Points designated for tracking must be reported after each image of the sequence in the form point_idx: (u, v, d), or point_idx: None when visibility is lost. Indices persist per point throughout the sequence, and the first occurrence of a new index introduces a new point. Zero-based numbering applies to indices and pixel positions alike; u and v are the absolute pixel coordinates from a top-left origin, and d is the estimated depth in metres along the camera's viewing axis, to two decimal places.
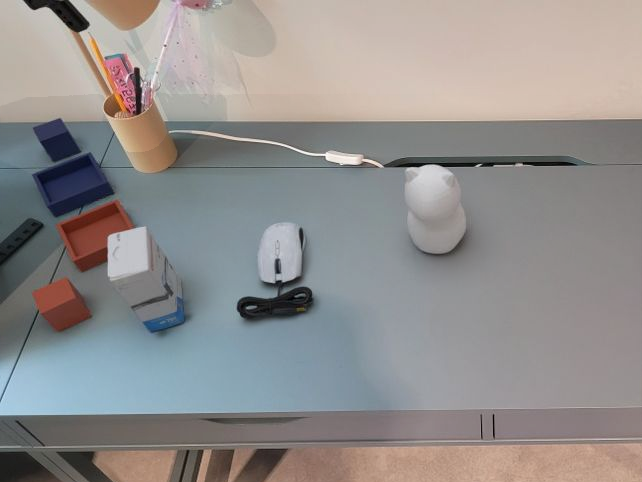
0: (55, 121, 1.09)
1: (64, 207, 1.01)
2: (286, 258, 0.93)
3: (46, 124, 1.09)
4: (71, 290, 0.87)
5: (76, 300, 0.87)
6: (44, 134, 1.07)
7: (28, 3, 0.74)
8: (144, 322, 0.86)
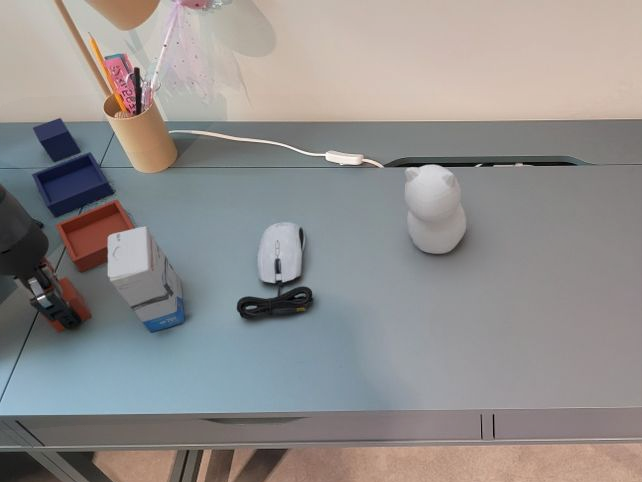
0: (55, 121, 1.09)
1: (64, 207, 1.01)
2: (286, 258, 0.93)
3: (46, 124, 1.09)
4: (71, 290, 0.87)
5: (76, 300, 0.87)
6: (44, 134, 1.07)
7: (52, 319, 0.83)
8: (144, 322, 0.86)
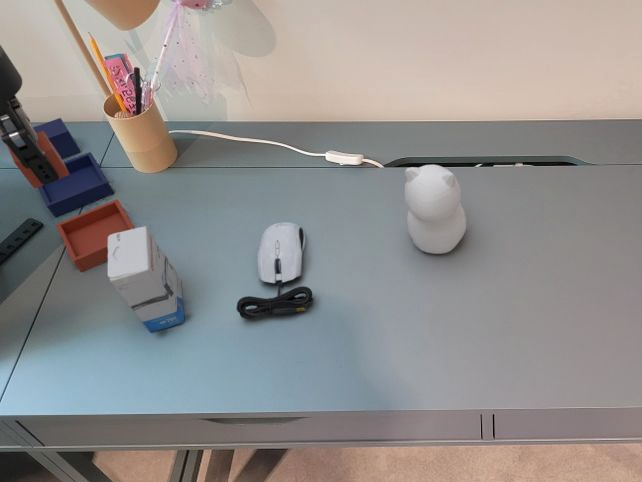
0: (55, 121, 1.09)
1: (64, 207, 1.01)
2: (286, 258, 0.93)
3: (46, 124, 1.09)
4: (47, 142, 0.83)
5: (53, 152, 0.83)
6: None
7: (27, 165, 0.79)
8: (144, 322, 0.86)
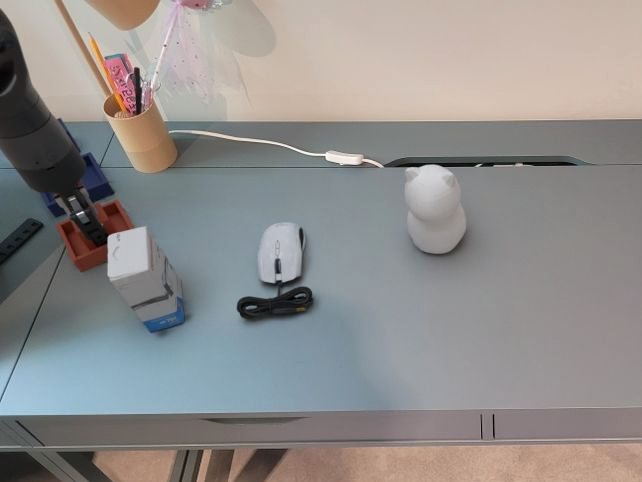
0: None
1: None
2: (286, 258, 0.93)
3: None
4: (104, 213, 0.95)
5: (108, 222, 0.95)
6: None
7: (89, 237, 0.91)
8: (144, 322, 0.86)
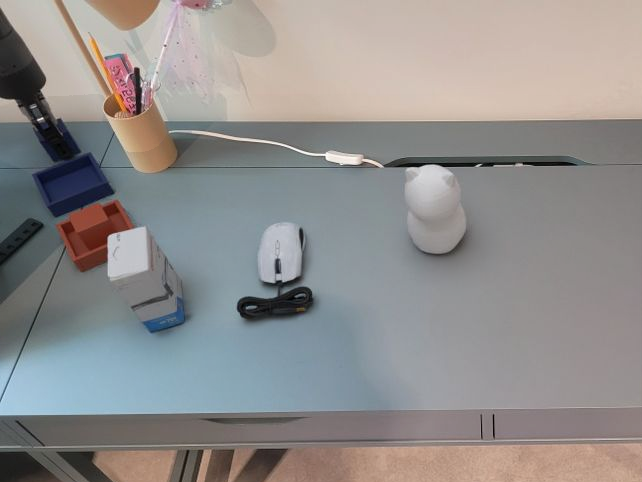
0: None
1: (64, 207, 1.01)
2: (286, 258, 0.93)
3: None
4: (104, 213, 0.95)
5: (108, 222, 0.95)
6: None
7: None
8: (144, 322, 0.86)
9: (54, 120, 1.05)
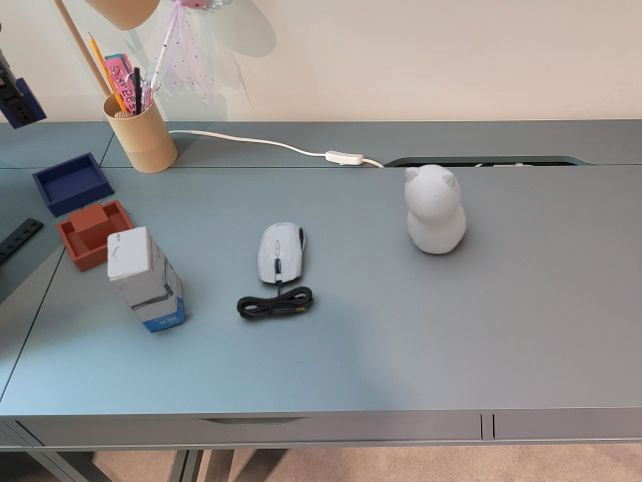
0: None
1: (64, 207, 1.01)
2: (286, 258, 0.93)
3: None
4: (104, 213, 0.95)
5: (108, 222, 0.95)
6: None
7: None
8: (144, 322, 0.86)
9: (12, 78, 0.88)
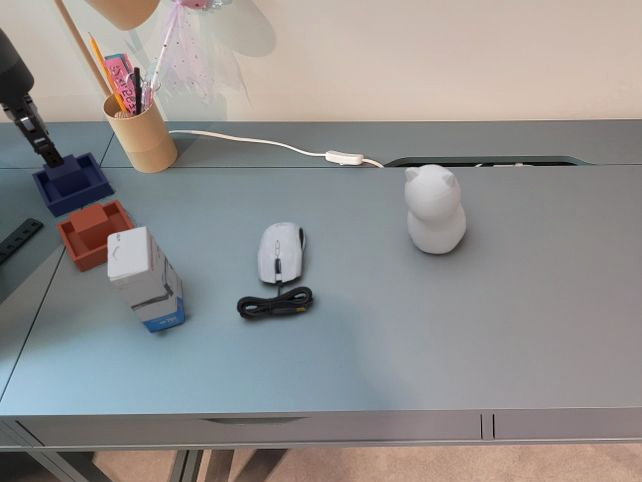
0: (66, 157, 1.03)
1: (64, 207, 1.01)
2: (286, 258, 0.93)
3: None
4: (104, 213, 0.95)
5: (108, 222, 0.95)
6: (55, 172, 1.01)
7: None
8: (144, 322, 0.86)
9: (43, 124, 0.95)
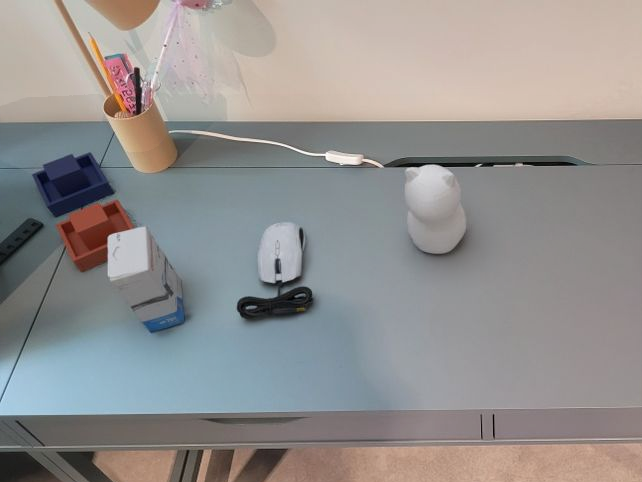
0: (66, 157, 1.03)
1: (64, 207, 1.01)
2: (286, 258, 0.93)
3: (57, 161, 1.02)
4: (104, 213, 0.95)
5: (108, 222, 0.95)
6: (55, 172, 1.01)
7: None
8: (144, 322, 0.86)
9: None
